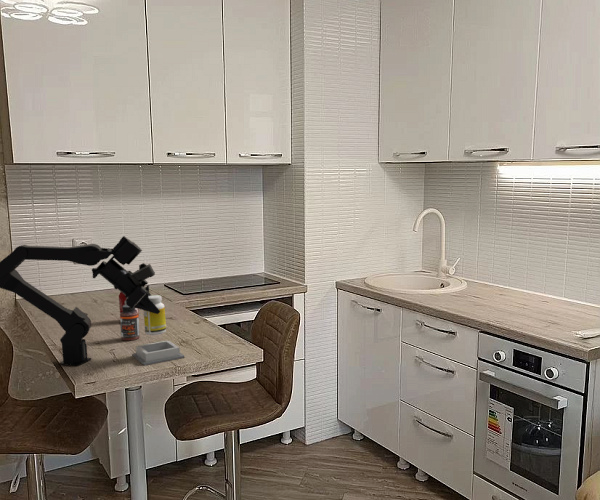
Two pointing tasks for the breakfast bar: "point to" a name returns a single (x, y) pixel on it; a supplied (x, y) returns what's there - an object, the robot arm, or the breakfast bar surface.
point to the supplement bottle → (129, 324)
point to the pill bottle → (155, 318)
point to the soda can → (124, 302)
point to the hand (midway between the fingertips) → (159, 310)
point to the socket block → (157, 352)
